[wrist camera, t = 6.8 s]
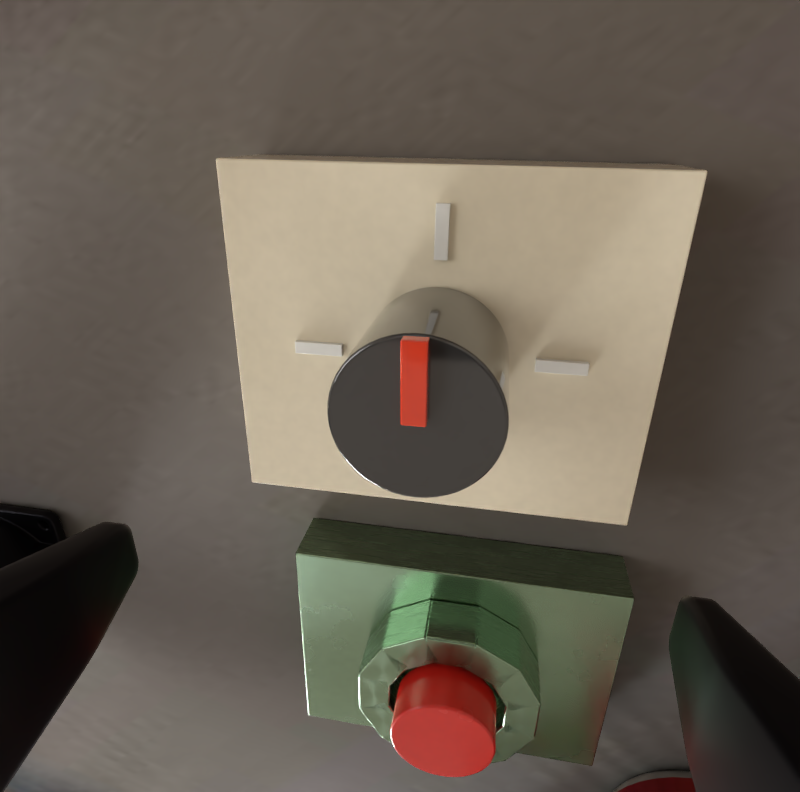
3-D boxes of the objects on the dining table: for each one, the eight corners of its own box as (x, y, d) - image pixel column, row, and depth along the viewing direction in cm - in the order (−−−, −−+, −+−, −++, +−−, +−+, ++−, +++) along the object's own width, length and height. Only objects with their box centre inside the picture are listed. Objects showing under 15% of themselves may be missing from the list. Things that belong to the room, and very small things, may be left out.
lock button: (397, 721, 22) (389, 767, 20) (399, 655, 20) (389, 698, 19) (492, 738, 21) (491, 786, 20) (501, 671, 20) (500, 717, 18)
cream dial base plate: (283, 439, 22) (249, 485, 19) (260, 154, 17) (211, 158, 15) (611, 473, 20) (628, 529, 17) (674, 163, 16) (711, 170, 13)
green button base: (322, 673, 27) (293, 756, 23) (313, 517, 23) (277, 588, 19) (586, 716, 25) (598, 814, 21) (622, 555, 21) (646, 641, 18)
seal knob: (503, 426, 16) (501, 515, 13) (368, 415, 17) (327, 497, 13) (515, 289, 15) (517, 344, 11) (365, 283, 15) (316, 333, 11)
